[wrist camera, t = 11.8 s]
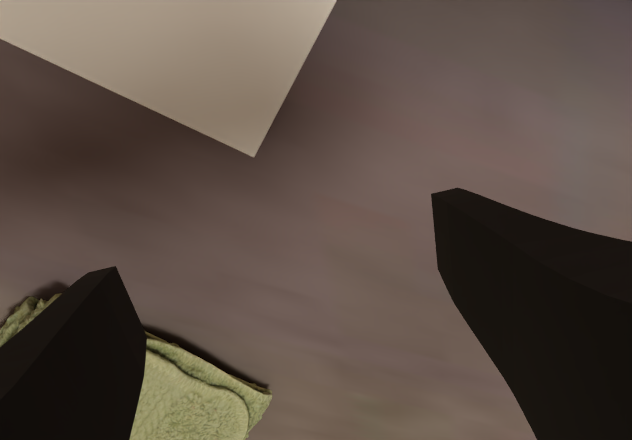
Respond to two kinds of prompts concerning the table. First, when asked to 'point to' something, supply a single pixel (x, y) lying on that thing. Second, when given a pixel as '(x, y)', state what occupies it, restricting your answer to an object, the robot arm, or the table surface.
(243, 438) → the washcloth
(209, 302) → the table surface
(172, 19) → the socket board
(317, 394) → the table surface
